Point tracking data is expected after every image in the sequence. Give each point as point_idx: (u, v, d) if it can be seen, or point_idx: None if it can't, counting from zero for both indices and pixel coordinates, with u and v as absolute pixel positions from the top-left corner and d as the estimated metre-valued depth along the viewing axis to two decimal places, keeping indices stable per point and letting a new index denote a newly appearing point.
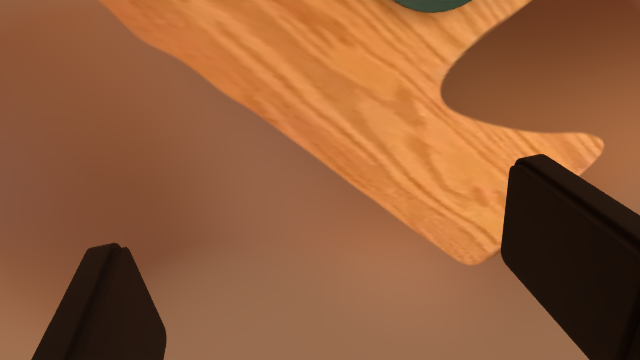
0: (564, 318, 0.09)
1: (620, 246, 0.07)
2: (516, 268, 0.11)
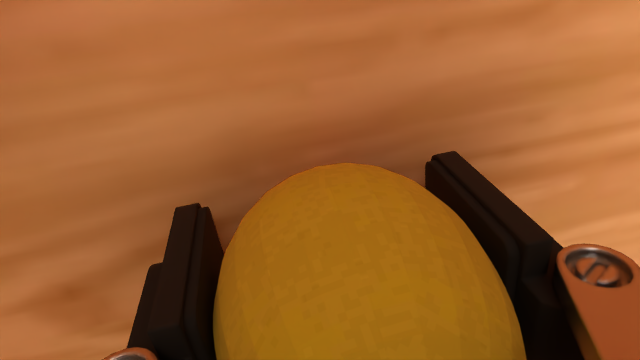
0: None
1: (495, 234, 0.08)
2: None
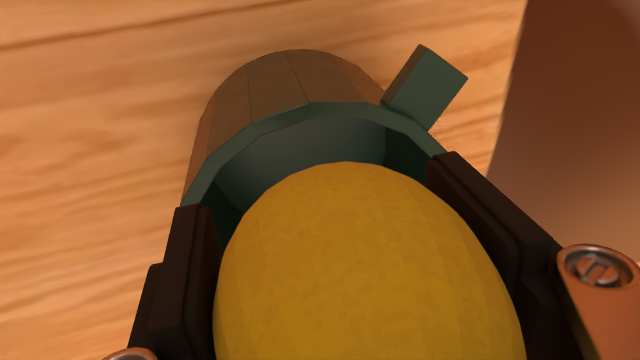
0: None
1: (495, 233, 0.08)
2: None
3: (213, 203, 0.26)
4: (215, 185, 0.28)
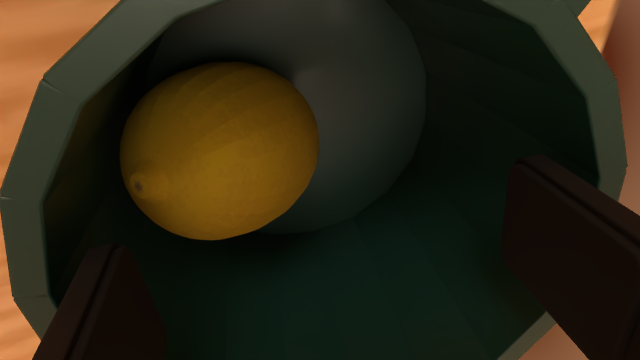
0: (563, 318, 0.09)
1: (619, 246, 0.07)
2: (516, 268, 0.11)
3: None
4: None
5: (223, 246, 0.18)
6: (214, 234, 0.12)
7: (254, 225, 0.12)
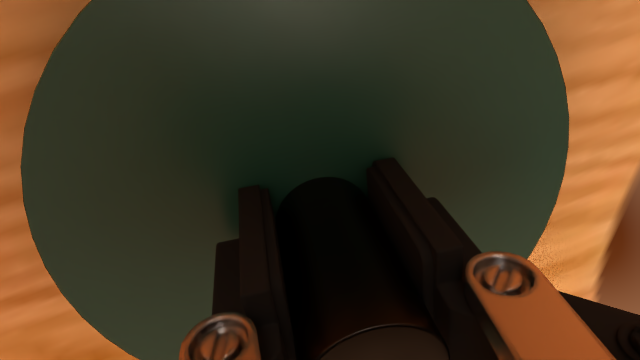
0: None
1: (414, 241, 0.08)
2: None
3: None
4: None
5: None
6: None
7: None
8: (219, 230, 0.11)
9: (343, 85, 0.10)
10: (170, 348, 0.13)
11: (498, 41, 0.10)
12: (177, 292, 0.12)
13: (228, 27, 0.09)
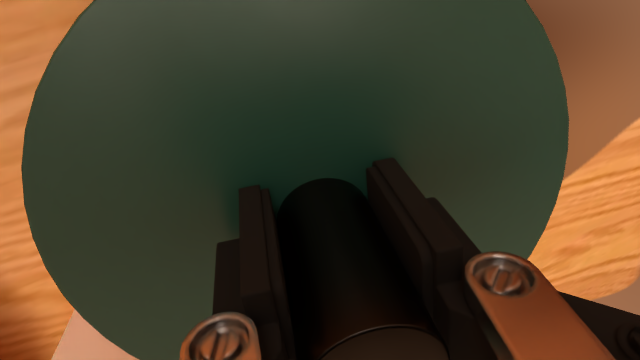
0: None
1: (413, 241, 0.08)
2: None
3: None
4: None
5: None
6: None
7: None
8: (219, 231, 0.11)
9: (343, 86, 0.10)
10: (171, 348, 0.13)
11: (498, 42, 0.10)
12: (177, 293, 0.12)
13: (228, 29, 0.09)
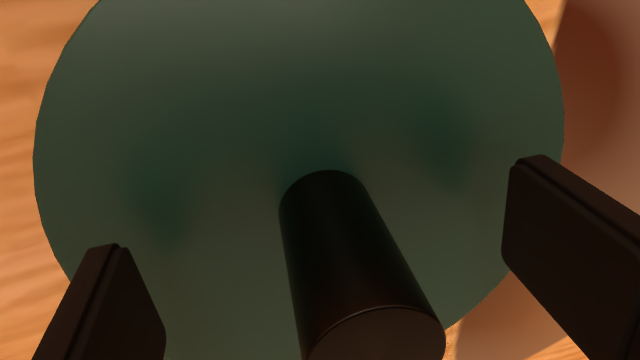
0: (564, 318, 0.09)
1: (620, 246, 0.07)
2: (516, 268, 0.11)
3: None
4: None
5: None
6: None
7: None
8: (223, 221, 0.11)
9: (344, 80, 0.10)
10: (175, 337, 0.13)
11: (495, 37, 0.10)
12: (182, 282, 0.12)
13: (233, 23, 0.09)
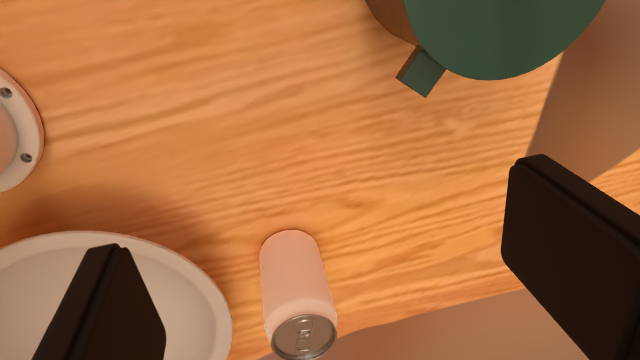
0: (564, 318, 0.09)
1: (620, 246, 0.07)
2: (516, 268, 0.11)
3: None
4: None
5: None
6: None
7: None
8: None
9: None
10: (434, 34, 0.26)
11: None
12: None
13: None
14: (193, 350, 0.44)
